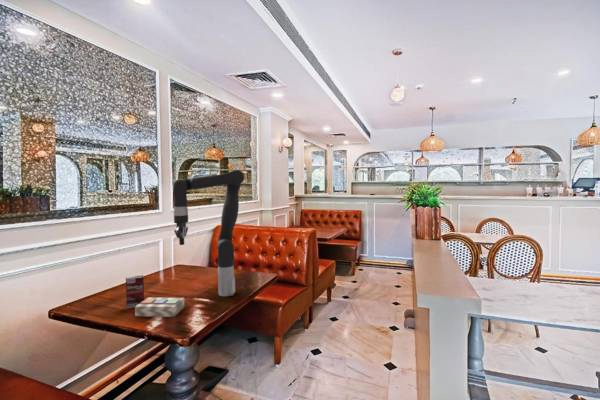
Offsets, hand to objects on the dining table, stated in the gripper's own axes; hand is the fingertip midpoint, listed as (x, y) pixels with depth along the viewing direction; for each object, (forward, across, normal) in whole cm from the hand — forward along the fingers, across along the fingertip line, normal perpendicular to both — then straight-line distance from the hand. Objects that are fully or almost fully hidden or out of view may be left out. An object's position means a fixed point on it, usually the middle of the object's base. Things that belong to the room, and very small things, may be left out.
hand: (181, 244), depth 171 cm
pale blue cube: (+30, -16, +5) cm, 35 cm away
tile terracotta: (+30, -16, +11) cm, 36 cm away
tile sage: (+30, -16, -2) cm, 34 cm away
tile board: (+32, -16, +5) cm, 36 cm away
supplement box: (+32, -9, +23) cm, 41 cm away
